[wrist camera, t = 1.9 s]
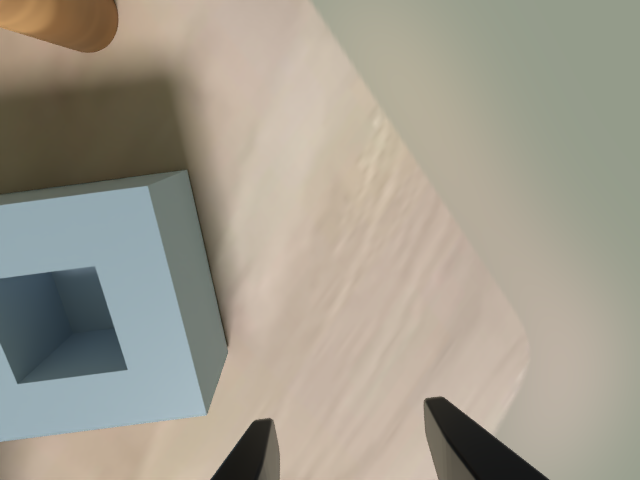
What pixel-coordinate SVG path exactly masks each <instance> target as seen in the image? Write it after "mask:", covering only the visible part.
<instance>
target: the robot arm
mask: <svg viewBox="0 0 640 480" xmlns="http://www.w3.org/2000/svg"><path fill="white" fill-rule="evenodd" d="M424 420H425V432H426V437H427V441H428V445H429V448H430V452H431V455H432V459H433V462H434V465H435V469H436V472H437V476H438V479H439V480H549V479H548V478H547V477H545V476H544V475H543V474H542V473H540V472H539V471H538V470H536V469H535V468H534V467H533V466H531V465H530V464H529V463H527V462H526V461H525V460H524V459H522V458H521V457H520V456H518V455H517V454H516V453H515V452H513V451H512V450H511V449H509V448H508V447H507V446H506V445H504V444H503V443H502V442H500V441H499V440H498V439H497V438H495V437H494V436H493V435H492V434H490V433H489V432H488V431H486V430H485V429H484V428H483V427H481V426H480V425H479V424H477V423H476V422H475V421H474V420H472V419H471V418H470V417H468V416H467V415H466V414H465V413H463V412H462V411H461V410H459V409H458V408H457V407H456V406H454V405H453V404H452V403H450V402H449V401H448V400H447V399H445V398H444V397H432V398H426V399H425V400H424ZM211 480H280V453H279V445H278V440H277V435H276V430H275V425H274V421H273V420H272V419H271V418H267V419H259V420H255V421H254V422H252V424H251V425H250V426H249V428H248V429H247V431H246V432H245V433H244V435H243V436H242V437H241V439H240V440H239V441H238V443H237V444H236V446H235V447H234V448H233V450H232V451H231V452H230V454H229V455H228V456H227V458H226V459H225V460H224V462H223V463H222V465H221V466H220V467H219V469H218V470H217V471H216V473H215V474H214V475H213V477H212V478H211Z"/></svg>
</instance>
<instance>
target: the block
mask: <svg viewBox="0 0 640 480" xmlns="http://www.w3.org/2000/svg"><path fill="white" fill-rule="evenodd" d="M227 354H228V349H227V345H226V340H225V336H224V331H223V327H222V323H221V318H220V314H219V309H218V305H217V300H216V296H215V291H214V287H213V283H212V278H211V274H210V269H209V265H208V260H207V256H206V251H205V247H204V243H203V238H202V234H201V229H200V225H199V220H198V216H197V211H196V207H195V203H194V198H193V194H192V189H191V185H190V180H189V176H188V172H187V170H181V171H174V172H166V173H158V174H151V175H143V176H136V177H128V178H120V179H113V180H105V181H98V182H90V183H83V184H75V185H67V186H60V187H52V188H45V189H37V190H30V191H22V192H14V193H7V194H0V442H2V441H10V440H18V439H25V438H33V437H41V436H49V435H57V434H64V433H72V432H80V431H88V430H96V429H103V428H111V427H119V426H127V425H135V424H142V423H150V422H158V421H166V420H174V419H181V418H189V417H197V416H205V415H207V413H208V410H209V407H210V404H211V401H212V398H213V395H214V392H215V390H216V387H217V384H218V381H219V378H220V375H221V372H222V369H223V366H224V363H225V360H226V357H227Z"/></svg>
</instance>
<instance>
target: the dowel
mask: <svg viewBox="0 0 640 480" xmlns="http://www.w3.org/2000/svg"><path fill="white" fill-rule="evenodd" d="M0 27H1V28H4V29H7V30H10V31H14V32H17V33H20V34H24V35H27V36H30V37H34V38H37V39H40V40H43V41H47V42H50V43H53V44H57V45H60V46H63V47H66V48H70V49H73V50H76V51H80V52H86V53H90V52H97V51H99V50H102V49H103V48H105V47H106V46H108V45H109V44H110V42H111V41H112V40H113V38H114V36H115V34H116V31H117V27H118V13H117V8H116V5H115V3H114V0H0Z"/></svg>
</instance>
